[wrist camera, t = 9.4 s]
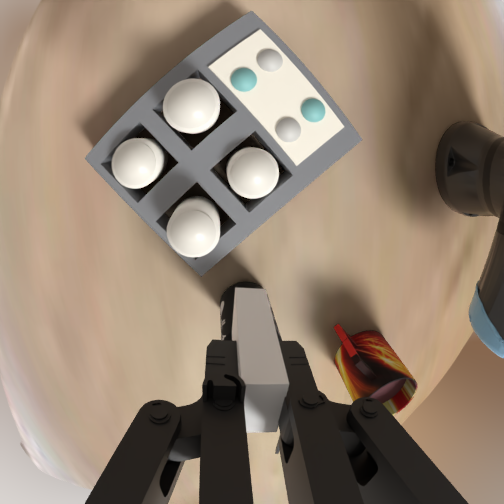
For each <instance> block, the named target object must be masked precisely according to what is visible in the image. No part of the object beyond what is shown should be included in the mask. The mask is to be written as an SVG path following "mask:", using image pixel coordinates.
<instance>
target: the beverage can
mask: <svg viewBox="0 0 504 504" xmlns="http://www.w3.org/2000/svg"><path fill="white" fill-rule="evenodd" d="M235 287H236V288H256V289H263V288H262V287H260V286H259V285H257V284H254V283H251V282H241V283H237V284H234V285H232V286H230V287H229V288H228V289H227V290H226V291H225V292H224V293H223V295H222V297H221V301H220V315H221V340H230V341H232V323H233V310H234V297H235ZM267 297H268V295H267ZM268 301H269V298H268ZM269 305H270V309H271V313H272V317H273V321H274V325H275V329H276V333H277V337H278V341H282V339H281V336H280V333H279V330H278V327H277V323H276V320H275V317H274V314H273V311H272V307H271V304H270V301H269Z"/></svg>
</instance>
